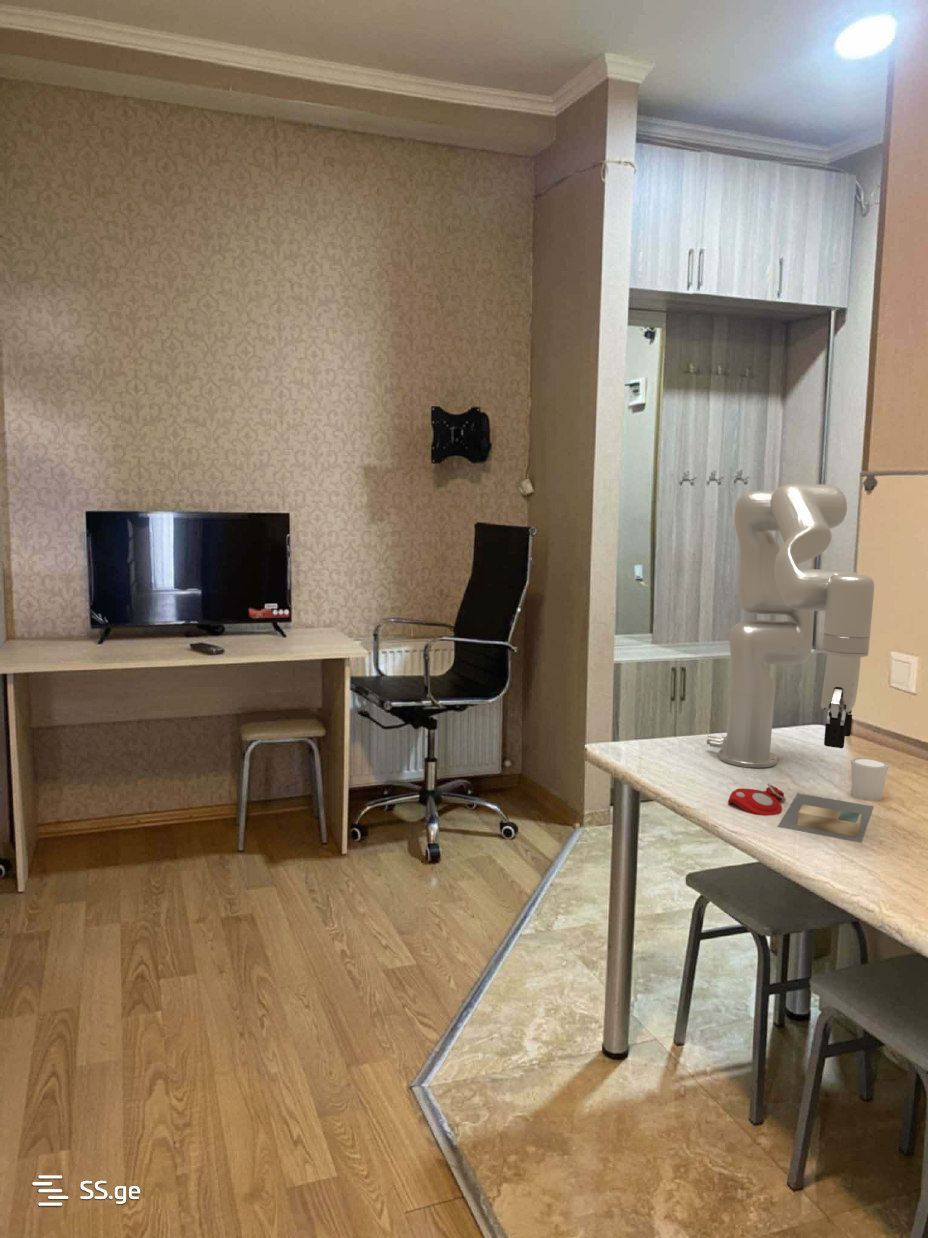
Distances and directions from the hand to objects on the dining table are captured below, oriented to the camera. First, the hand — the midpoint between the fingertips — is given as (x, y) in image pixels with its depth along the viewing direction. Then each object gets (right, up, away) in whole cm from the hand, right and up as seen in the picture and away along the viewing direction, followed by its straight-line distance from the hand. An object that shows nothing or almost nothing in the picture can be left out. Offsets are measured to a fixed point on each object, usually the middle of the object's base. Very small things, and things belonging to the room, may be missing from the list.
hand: (837, 740), depth 169 cm
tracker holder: (-9, -15, +13) cm, 22 cm away
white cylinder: (+15, -14, +23) cm, 31 cm away
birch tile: (-1, -16, +3) cm, 16 cm away
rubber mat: (+1, -16, +8) cm, 18 cm away
